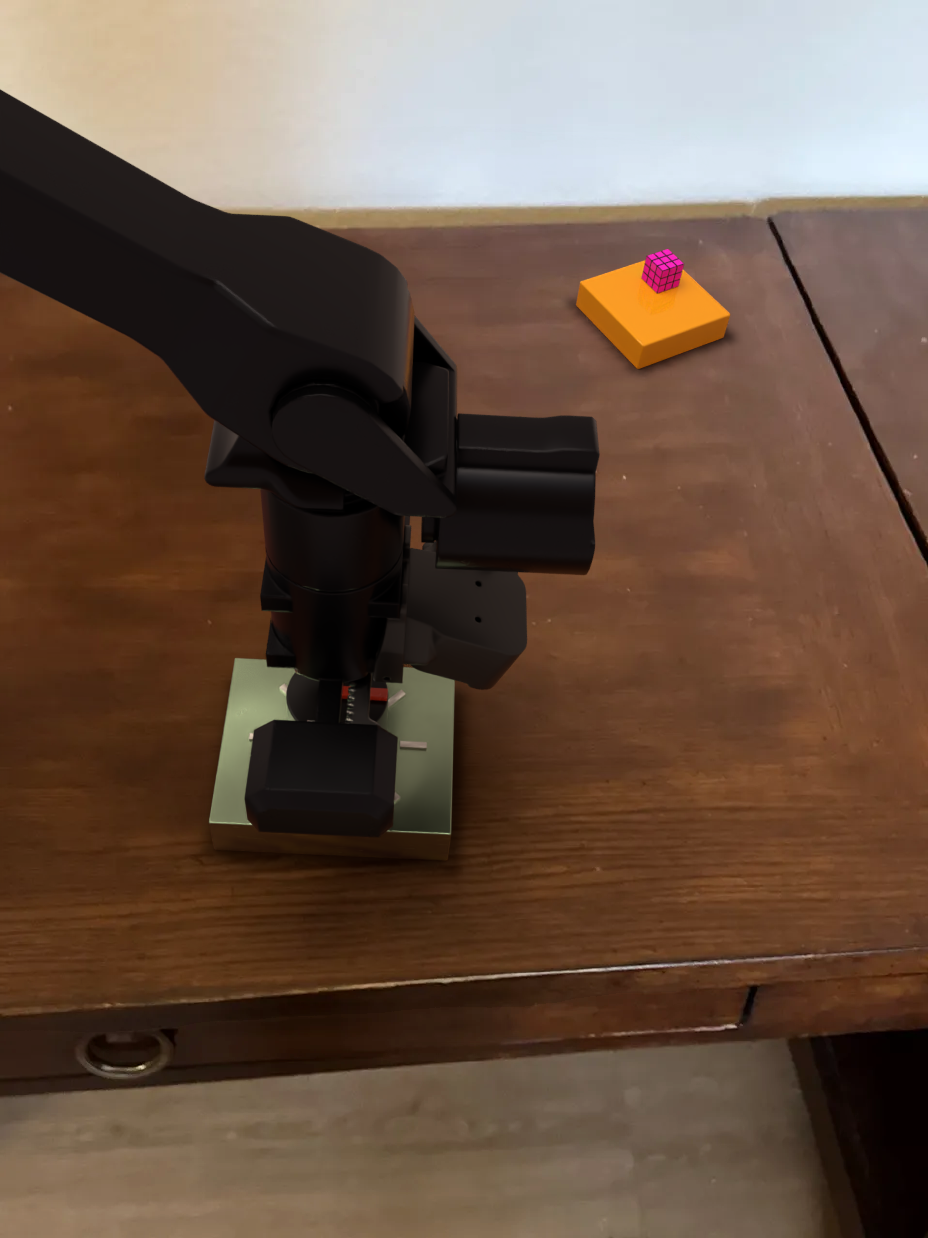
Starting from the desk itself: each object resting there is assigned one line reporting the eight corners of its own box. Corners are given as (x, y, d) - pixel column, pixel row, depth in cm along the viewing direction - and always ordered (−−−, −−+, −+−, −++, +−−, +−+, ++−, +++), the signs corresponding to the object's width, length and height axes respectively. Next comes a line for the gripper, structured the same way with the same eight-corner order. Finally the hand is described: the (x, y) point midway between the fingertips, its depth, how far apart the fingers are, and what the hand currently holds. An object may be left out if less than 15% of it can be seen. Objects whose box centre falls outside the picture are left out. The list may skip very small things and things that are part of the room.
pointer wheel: (284, 781, 61) (280, 731, 58) (294, 698, 64) (291, 646, 61) (383, 786, 62) (385, 736, 58) (389, 703, 65) (391, 651, 61)
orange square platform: (724, 338, 90) (738, 291, 86) (637, 370, 87) (648, 323, 84) (660, 276, 94) (671, 229, 90) (575, 305, 91) (583, 257, 87)
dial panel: (213, 850, 62) (207, 821, 60) (238, 688, 68) (234, 655, 66) (447, 861, 63) (451, 833, 60) (451, 699, 69) (455, 667, 66)
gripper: (532, 742, 45) (493, 914, 57) (524, 397, 56) (493, 603, 69) (230, 727, 44) (256, 904, 57) (283, 381, 56) (295, 592, 68)
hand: (337, 736), depth 63 cm, fingers open, 7 cm apart
